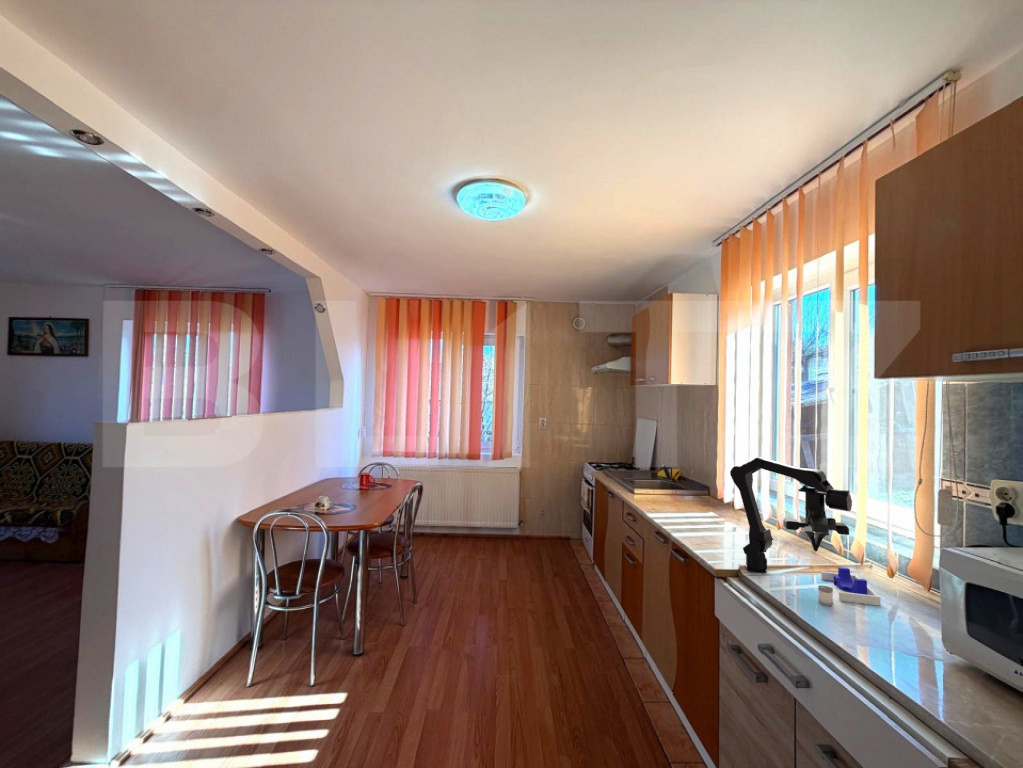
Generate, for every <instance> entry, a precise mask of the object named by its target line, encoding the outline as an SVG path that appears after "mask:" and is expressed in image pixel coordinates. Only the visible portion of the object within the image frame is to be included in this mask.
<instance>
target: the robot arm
mask: <svg viewBox="0 0 1023 768" xmlns="http://www.w3.org/2000/svg"><path fill="white" fill-rule="evenodd" d="M761 469H762V470H765V471H768V472H773V473H774V474H778V475H781V476H784V477H789V478H792V479H793V480H796V481H797V482H799V483H801V484H803V485H802V486H801V487H800V488H799V489H798V490H797V491H798V492H800V493H804V494H805V496H804V497H805V499H804V500H805V506H804V510H805V513H804V514H805V518H804V521H805V522H803V521H798V519H796V518H789V517H788V518H787V517H785V518H784V519H783V520H782V521H783V523H782V524H783V525H782V526H783V527H784V528H785V529H786V530H790V531H798V530H799V529H800V528H801V531H802V532H803V533H805V534H806V535H807V537H808V539H809V541H810V545H811V547H812V550H813V551H814V552H818V551H819V548H820V545H821V543H822V541H823V539H824V538H825V537H826V536H830V531H835V532H836V533H837V534H838V535H844V536H845V535H846V536H849V535H850V528H849V526H847V524H845V523H843V522H837V521H836V518H833V517H827V513H826V510H825V509H826V508H825V506H826V507H828V509H831V510H837V511H838V510H839V511H845V512H851V510H852V506H853V499H852V496H851V494H850V490H846V489H844V490H843V489H842V490H841V489H835V488H834V486H832V484H831V483H830V482H829V481H828V480H827V476H826V474H825V472H824V471H823V470H821V469H816V468H808V467H797V466H793V465H790V464H787V463H783V462H780V461H776V460H772V459H769V458H766V457H763V456H759V457H758V456H757V457H755V458H754V459H752V460H750V461H748V462H746V463H744V464H741V465H736V466H733V467H732V468H731V469H730V471H729V474H730V477H731V479H732V481H733V483H734V485H735V486H736V487H737V489H738V491H739V494H740V498H741V501H742V506H743V507H744V508H743V509H744V512H745V515H746V518H747V522H748V526H749V527H748V543H747V544H746V545H745V546H744V547H742V550H743V553H744V555H745V564H746V565H747V568H746V567H745V569H746V571H747V572H755V573H764V574H765V573H766V574H767V570H768V559H767V556H766V554H765V553H767V551H768V550H769V549H770V548H771V547H772V545H773V541H774V538H773V536H772V531H771V529H769V528H768V529H767V528H766V527H765V526H764V525H763V522H762V518H761V514H760V511H759V507H758V504H757V501H756V496H755V493H754V490H753V482H754V478H753V477H754V476H753V475H754V474H755V473H756V472H758V471H760V470H761Z"/></svg>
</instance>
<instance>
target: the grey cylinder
mask: <svg viewBox="0 0 1023 768" xmlns="http://www.w3.org/2000/svg"><path fill="white" fill-rule="evenodd" d="M817 587H818V604H819V605H821V604H823V605H822V606H824V605H828V606H827V607H833V606H834V601H833V600H834V599H833V593H834V589H833V587H831V586H828V585H818V586H817ZM832 605H833V606H832Z"/></svg>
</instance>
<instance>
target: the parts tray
mask: <svg viewBox="0 0 1023 768" xmlns="http://www.w3.org/2000/svg"><path fill="white" fill-rule="evenodd" d="M850 575H851V579H852V581H853V583H854V578H855V579H861V577H860V576H859V575H857V574H850ZM834 576H838V572H831V571H830V572H829V571H828V572H827V571H822V570H821V571H820V578H821V580H824V581H831V582H832V581H833V582H834ZM838 601H841V602H849V603H856V604H857V603H858V604H865V605H866V604H867V605H872V606H881V596H880V595H879V594H878V593H877V592H875V591H874V590H873V589H872V588H871V587H870V586H869V585H868V584H867V595H865V594H856V593H849V592H848V591H838Z"/></svg>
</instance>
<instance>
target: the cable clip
mask: <svg viewBox="0 0 1023 768" xmlns="http://www.w3.org/2000/svg"><path fill="white" fill-rule="evenodd" d="M837 573H838V576H834V581H833V584H834V585H835V586H836V587H837V588H838V589H839V590H841V592H848V593H856V594H865V595H867V585H868V581H867V580H866V579H865V578H860V579H855V578H854V583H853V581H852V579H851V575H852V574H851V569H850V568H848V567H841V566H840V567H839V566H838V568H837Z"/></svg>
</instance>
